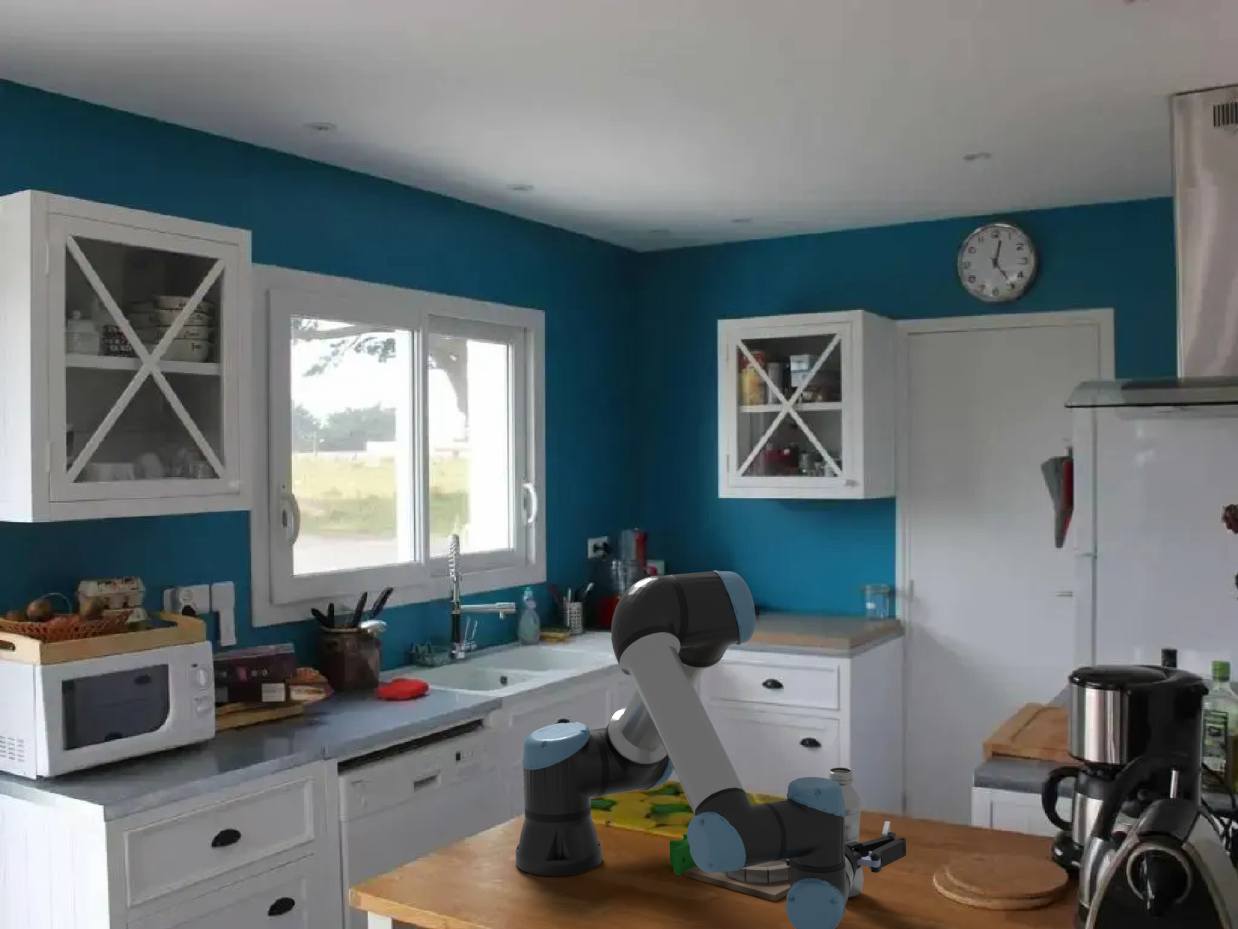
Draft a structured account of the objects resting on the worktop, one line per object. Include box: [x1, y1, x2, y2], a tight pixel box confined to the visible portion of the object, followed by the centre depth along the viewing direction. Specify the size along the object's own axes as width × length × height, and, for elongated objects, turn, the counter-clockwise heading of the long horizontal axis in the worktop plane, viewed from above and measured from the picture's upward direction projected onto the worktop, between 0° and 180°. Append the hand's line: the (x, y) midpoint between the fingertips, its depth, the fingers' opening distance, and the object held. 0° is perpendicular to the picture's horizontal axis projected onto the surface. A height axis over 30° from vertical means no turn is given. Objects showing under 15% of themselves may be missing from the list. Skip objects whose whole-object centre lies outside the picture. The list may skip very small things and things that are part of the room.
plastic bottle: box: [828, 766, 865, 898], centre depth 193 cm, size 6×7×20 cm
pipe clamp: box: [669, 832, 696, 876], centre depth 209 cm, size 11×4×5 cm, turn 145°
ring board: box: [685, 859, 790, 902], centre depth 203 cm, size 18×18×3 cm
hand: (844, 826), depth 193 cm, fingers open, 13 cm apart
